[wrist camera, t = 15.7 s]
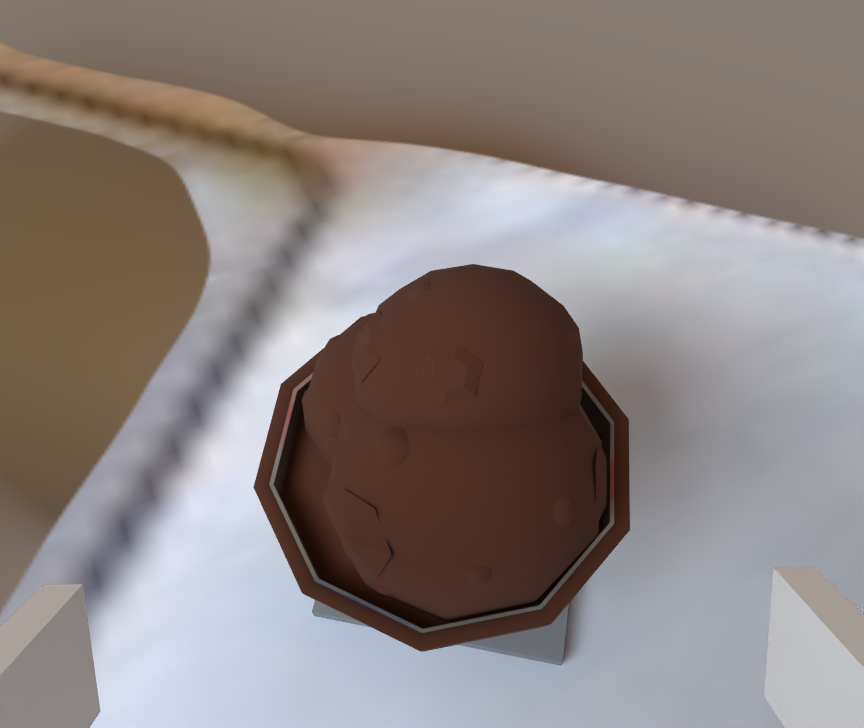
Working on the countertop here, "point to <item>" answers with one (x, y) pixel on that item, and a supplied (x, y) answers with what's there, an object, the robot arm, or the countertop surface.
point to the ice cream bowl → (448, 463)
